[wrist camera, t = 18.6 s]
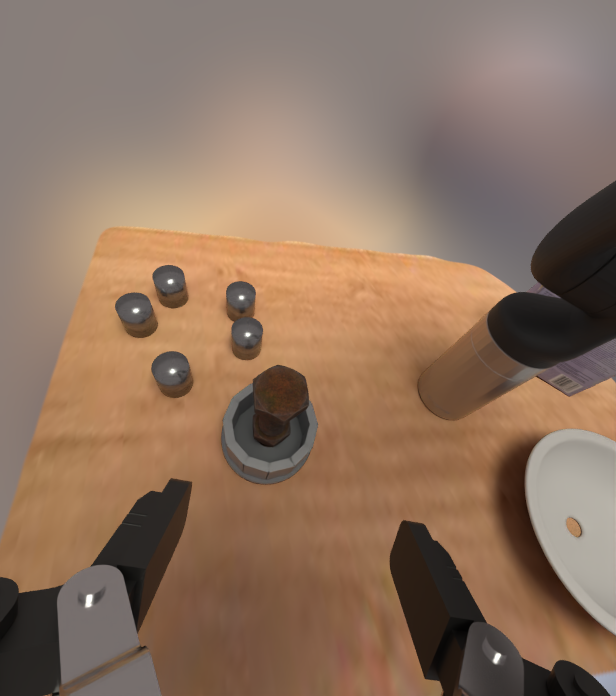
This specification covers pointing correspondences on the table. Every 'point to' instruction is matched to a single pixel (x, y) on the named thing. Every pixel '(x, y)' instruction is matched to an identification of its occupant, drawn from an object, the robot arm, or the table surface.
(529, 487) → the soup bowl
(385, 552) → the table surface
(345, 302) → the table surface
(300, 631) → the table surface
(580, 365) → the cake pan box
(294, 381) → the bolt
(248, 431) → the round gray container
